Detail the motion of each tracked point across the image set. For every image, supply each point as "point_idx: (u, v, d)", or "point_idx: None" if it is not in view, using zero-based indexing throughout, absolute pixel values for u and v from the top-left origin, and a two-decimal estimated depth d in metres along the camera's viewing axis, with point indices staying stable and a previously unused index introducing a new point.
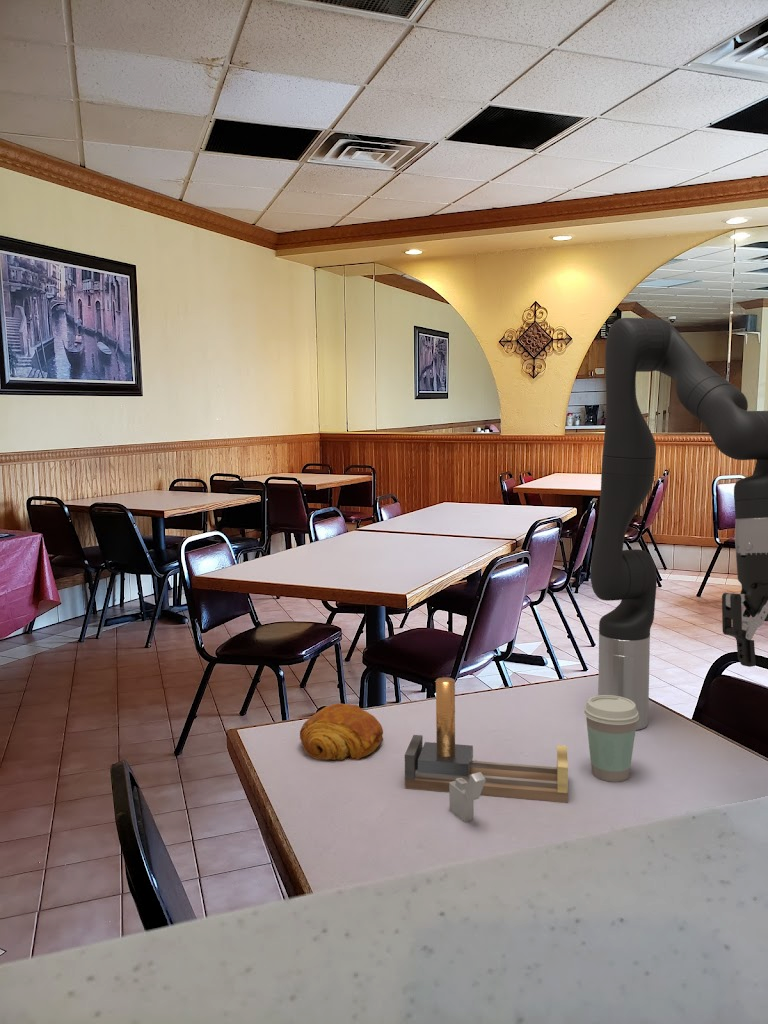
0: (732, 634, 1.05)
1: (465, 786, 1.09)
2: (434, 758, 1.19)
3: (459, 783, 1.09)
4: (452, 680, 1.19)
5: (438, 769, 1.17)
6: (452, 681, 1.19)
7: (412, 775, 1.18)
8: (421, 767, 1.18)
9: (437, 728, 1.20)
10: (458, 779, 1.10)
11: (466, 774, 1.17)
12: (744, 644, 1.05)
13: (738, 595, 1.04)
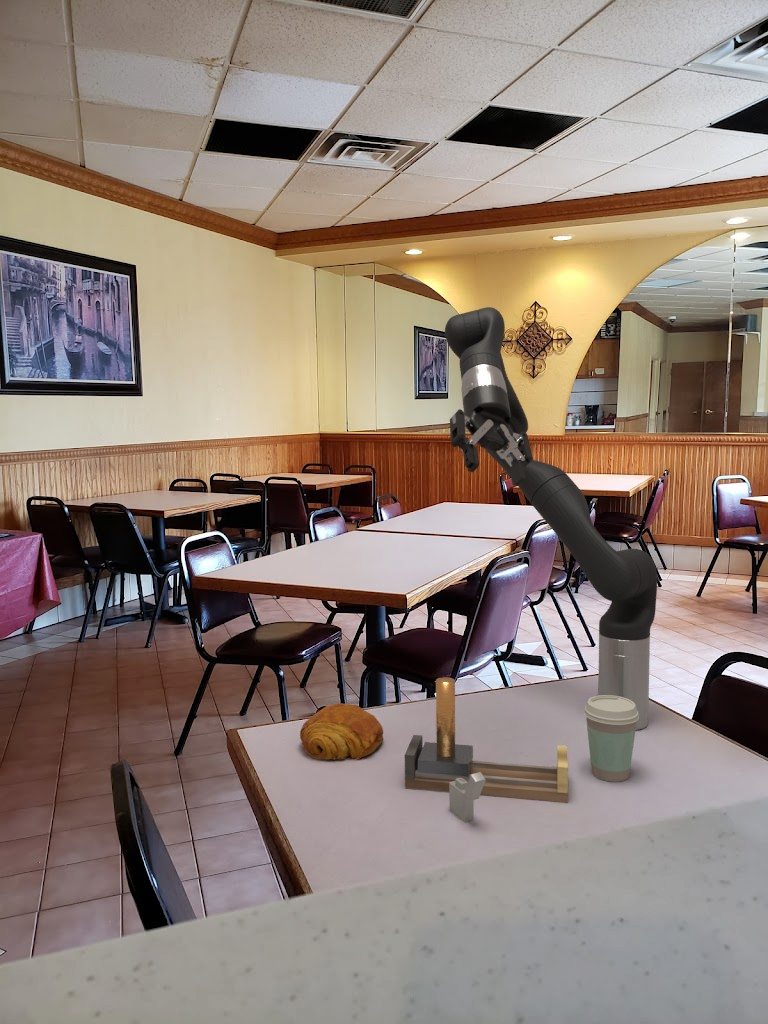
0: (457, 438, 1.16)
1: (465, 786, 1.09)
2: (434, 758, 1.19)
3: (459, 783, 1.09)
4: (452, 680, 1.19)
5: (438, 769, 1.17)
6: (452, 681, 1.19)
7: (412, 775, 1.18)
8: (421, 767, 1.18)
9: (437, 728, 1.20)
10: (458, 779, 1.10)
11: (466, 774, 1.17)
12: (468, 448, 1.15)
13: (461, 410, 1.19)
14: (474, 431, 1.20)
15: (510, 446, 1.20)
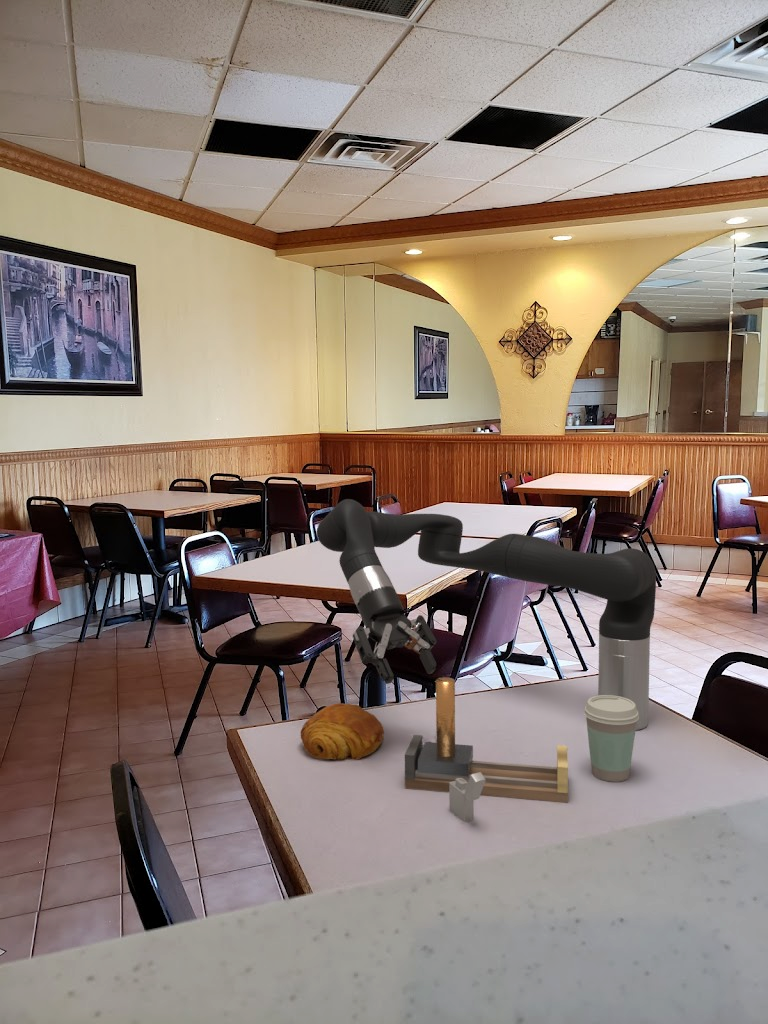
0: (366, 658, 1.24)
1: (465, 786, 1.09)
2: (434, 758, 1.19)
3: (459, 783, 1.09)
4: (452, 680, 1.19)
5: (438, 769, 1.17)
6: (452, 681, 1.19)
7: (412, 775, 1.18)
8: (421, 767, 1.18)
9: (437, 728, 1.20)
10: (458, 779, 1.10)
11: (466, 774, 1.17)
12: (379, 663, 1.24)
13: (360, 627, 1.27)
14: (377, 638, 1.29)
15: (413, 639, 1.30)
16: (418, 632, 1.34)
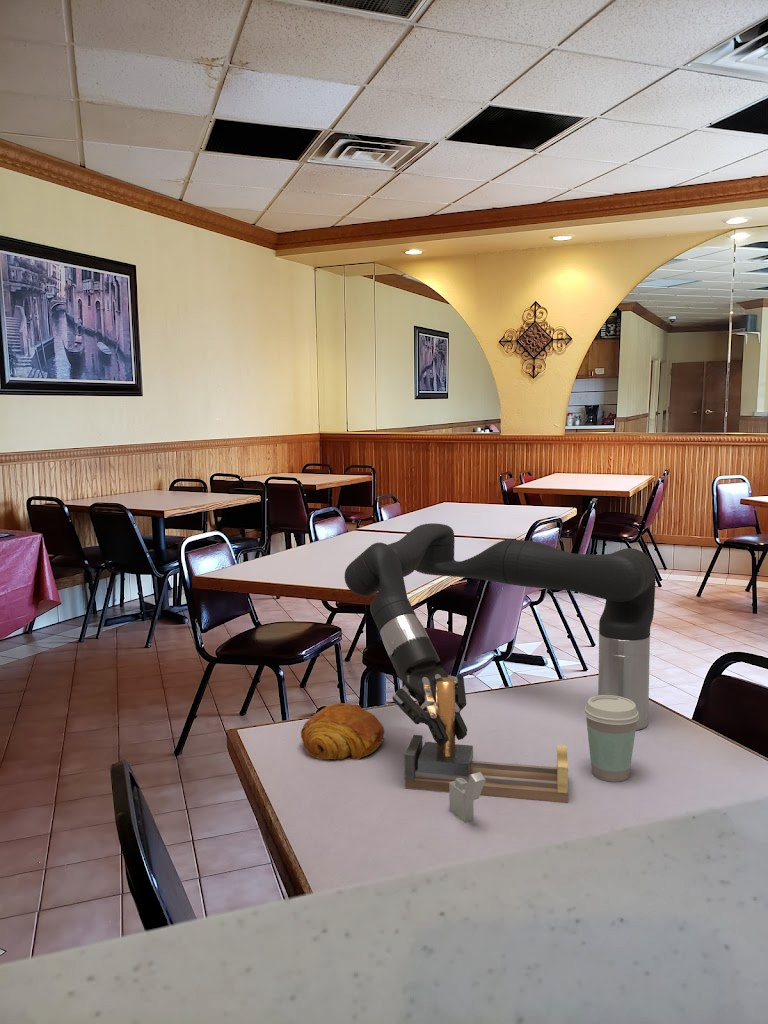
0: (419, 718, 1.18)
1: (465, 786, 1.09)
2: (434, 758, 1.19)
3: (459, 783, 1.09)
4: (452, 680, 1.19)
5: (438, 769, 1.17)
6: (452, 681, 1.19)
7: (412, 775, 1.18)
8: (421, 767, 1.18)
9: None
10: (458, 779, 1.10)
11: (466, 774, 1.17)
12: (432, 724, 1.18)
13: (400, 689, 1.20)
14: None
15: None
16: None
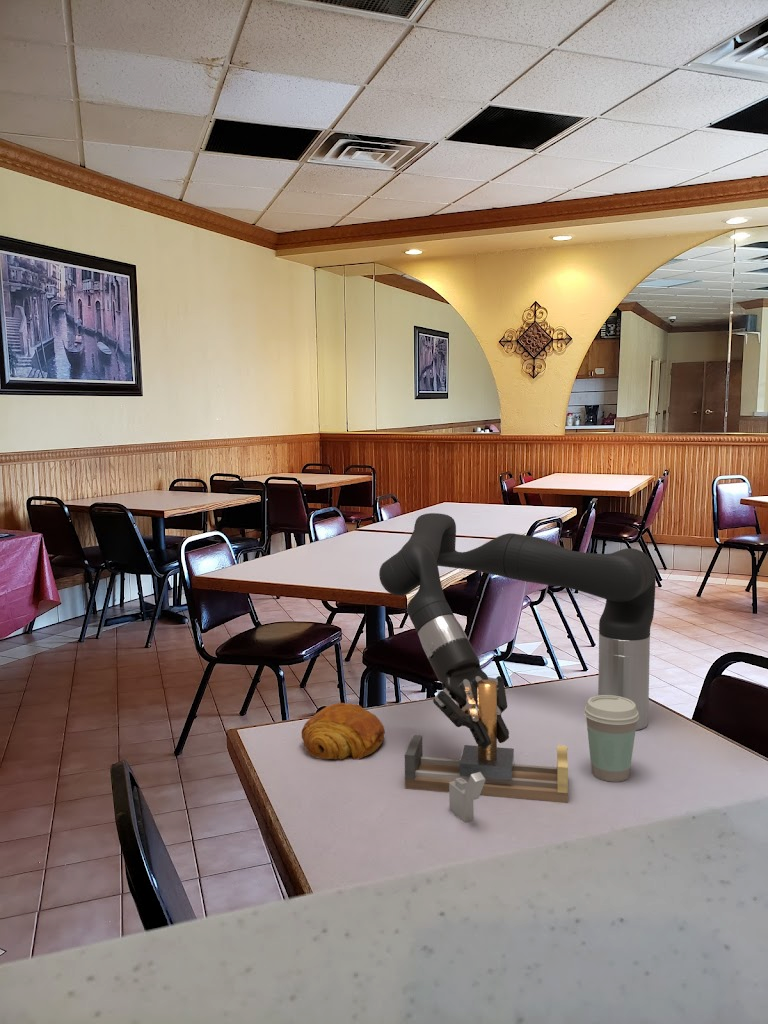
0: (461, 721, 1.17)
1: (465, 786, 1.09)
2: (476, 761, 1.17)
3: (459, 783, 1.09)
4: (494, 682, 1.18)
5: None
6: (494, 683, 1.17)
7: (412, 775, 1.18)
8: (463, 770, 1.17)
9: None
10: (458, 779, 1.10)
11: (509, 778, 1.15)
12: (475, 727, 1.17)
13: (441, 692, 1.18)
14: None
15: None
16: None
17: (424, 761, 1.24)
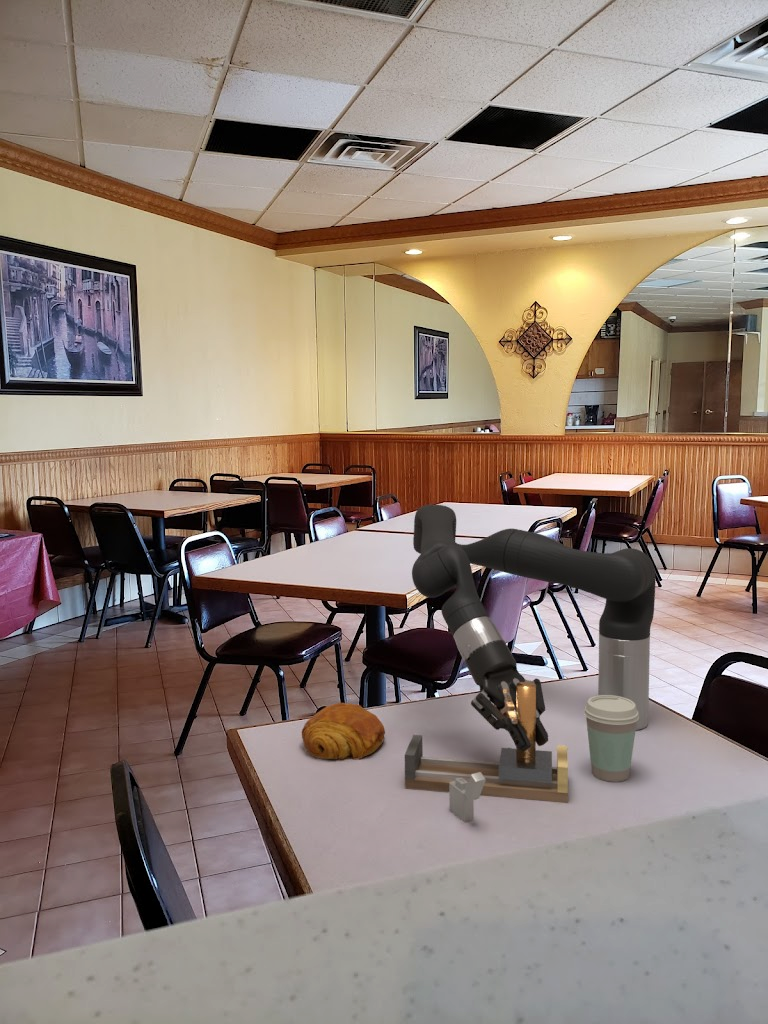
0: (500, 723, 1.15)
1: (465, 786, 1.09)
2: (515, 764, 1.16)
3: (459, 783, 1.09)
4: (533, 684, 1.16)
5: (520, 776, 1.15)
6: (533, 686, 1.16)
7: (412, 775, 1.18)
8: (502, 774, 1.15)
9: None
10: (458, 779, 1.10)
11: (549, 781, 1.14)
12: (514, 730, 1.15)
13: (480, 694, 1.17)
14: None
15: None
16: None
17: (424, 761, 1.24)
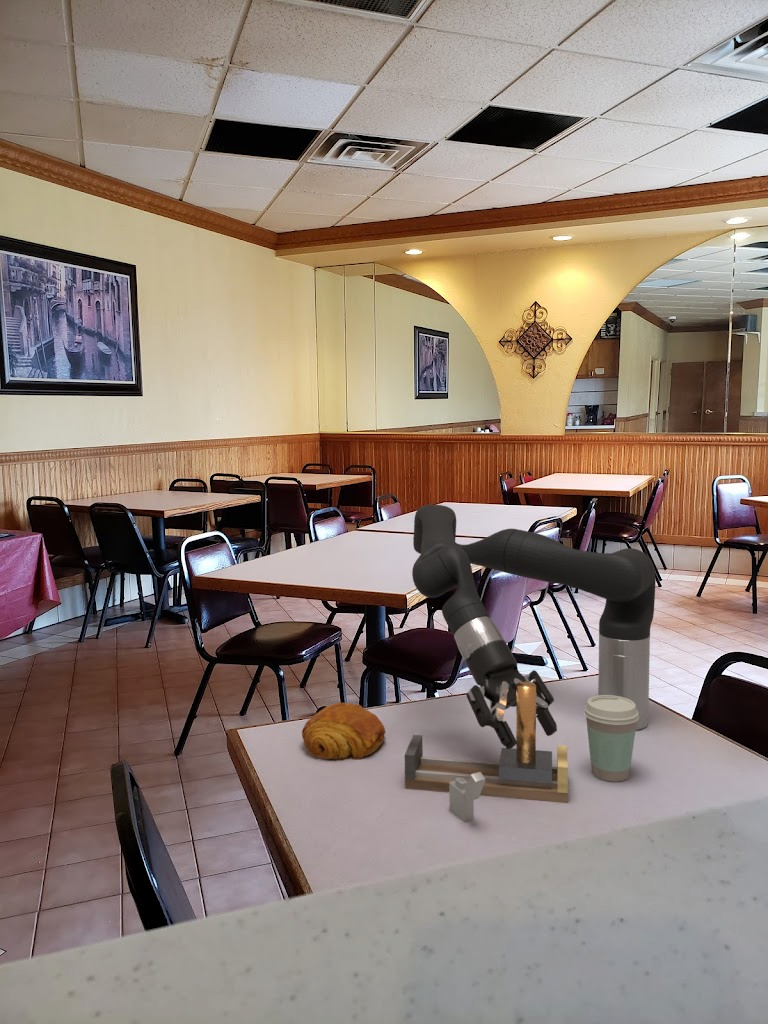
0: (485, 720, 1.15)
1: (465, 786, 1.09)
2: (515, 764, 1.16)
3: (459, 783, 1.09)
4: (533, 684, 1.16)
5: (520, 776, 1.15)
6: (533, 686, 1.16)
7: (412, 775, 1.18)
8: (502, 774, 1.15)
9: (518, 734, 1.17)
10: (458, 779, 1.10)
11: (549, 781, 1.14)
12: (499, 727, 1.15)
13: (476, 686, 1.17)
14: (493, 698, 1.19)
15: None
16: None
17: (424, 761, 1.24)
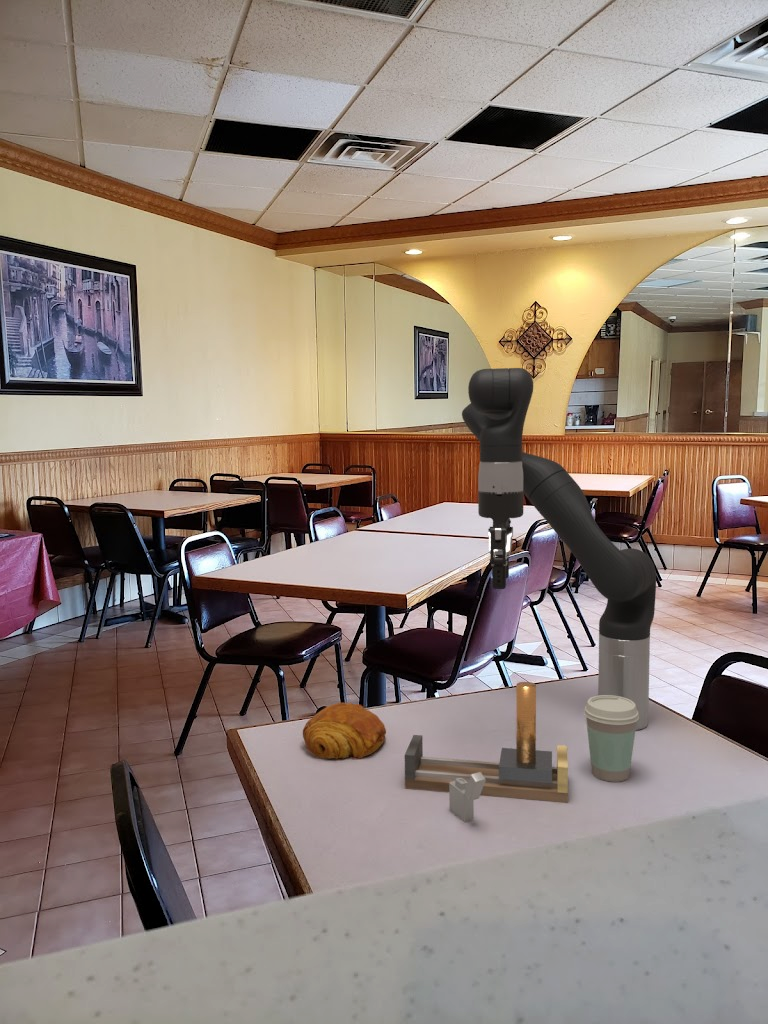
0: (501, 563, 1.20)
1: (465, 786, 1.09)
2: (515, 764, 1.16)
3: (459, 783, 1.09)
4: (533, 684, 1.16)
5: (520, 776, 1.15)
6: (533, 686, 1.16)
7: (412, 775, 1.18)
8: (502, 774, 1.15)
9: (518, 734, 1.17)
10: (458, 779, 1.10)
11: (549, 781, 1.14)
12: (503, 571, 1.22)
13: (506, 529, 1.20)
14: None
15: None
16: None
17: (424, 761, 1.24)
